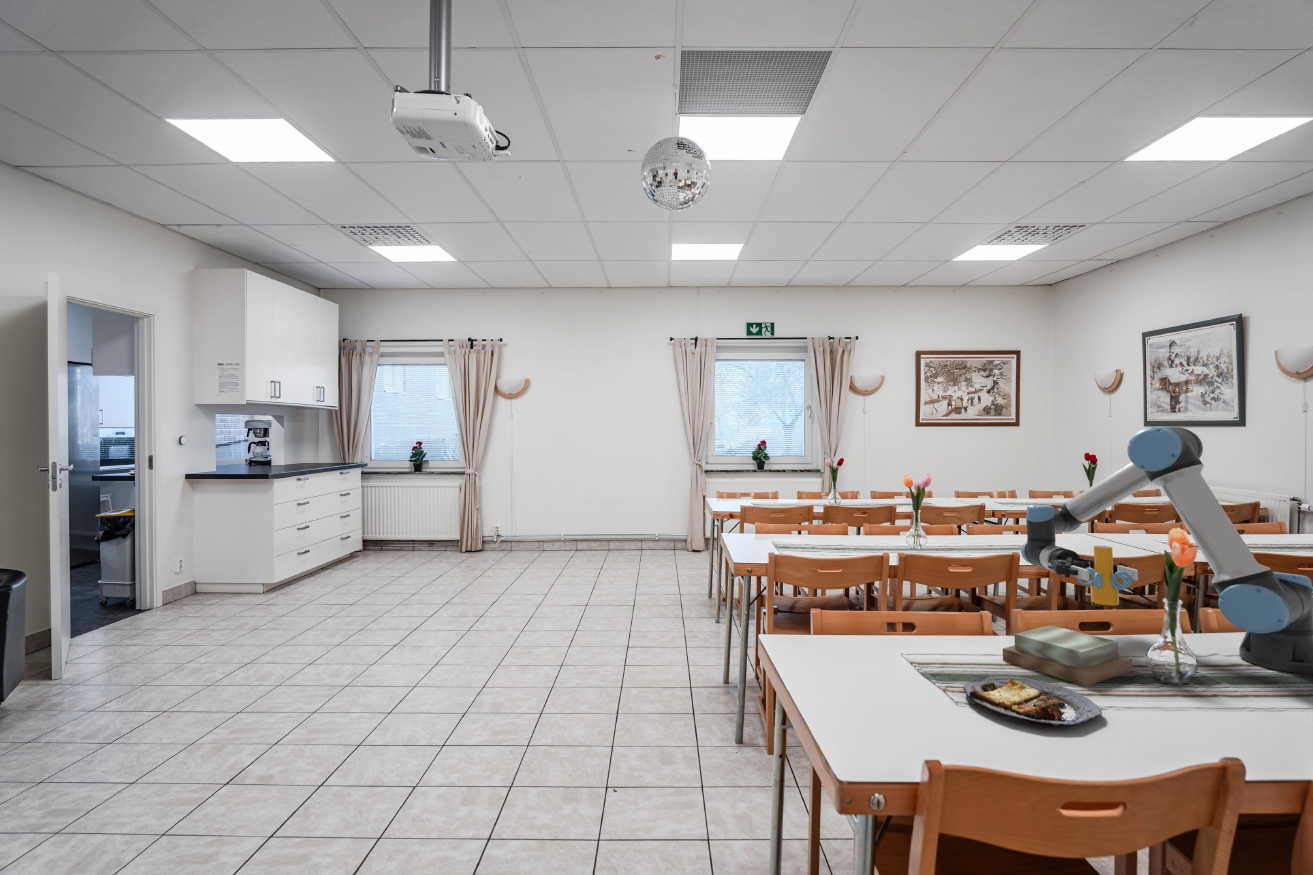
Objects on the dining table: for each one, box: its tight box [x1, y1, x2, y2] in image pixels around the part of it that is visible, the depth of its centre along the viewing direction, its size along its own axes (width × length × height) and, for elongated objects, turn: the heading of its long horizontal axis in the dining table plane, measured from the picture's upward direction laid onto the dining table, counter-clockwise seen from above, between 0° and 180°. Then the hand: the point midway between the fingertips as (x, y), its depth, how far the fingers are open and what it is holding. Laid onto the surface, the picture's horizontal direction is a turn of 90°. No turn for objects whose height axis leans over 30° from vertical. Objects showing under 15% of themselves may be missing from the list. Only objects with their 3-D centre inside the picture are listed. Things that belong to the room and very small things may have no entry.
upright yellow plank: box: [1076, 545, 1133, 607], centre depth 160 cm, size 12×10×15 cm
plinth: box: [1002, 624, 1133, 687], centre depth 152 cm, size 20×20×7 cm
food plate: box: [963, 675, 1103, 727], centre depth 128 cm, size 25×23×4 cm
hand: (1112, 575), depth 156 cm, fingers closed on upright yellow plank, 12 cm apart
